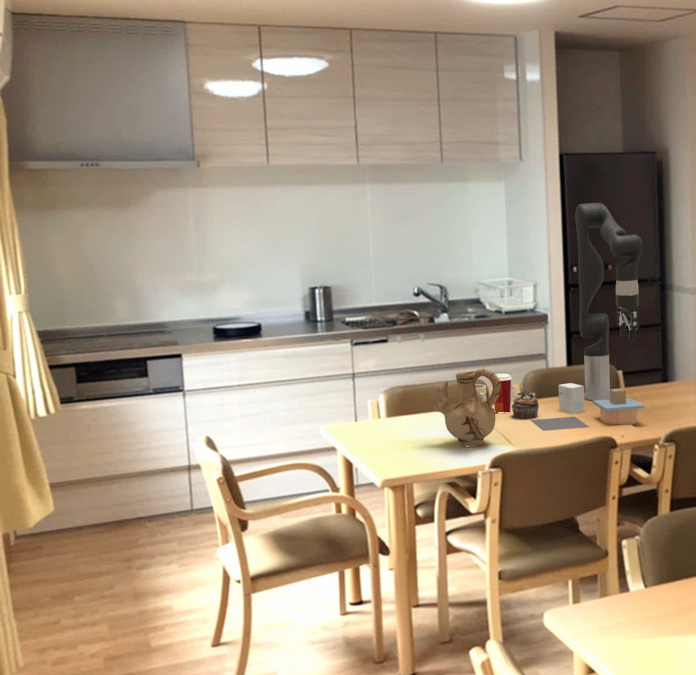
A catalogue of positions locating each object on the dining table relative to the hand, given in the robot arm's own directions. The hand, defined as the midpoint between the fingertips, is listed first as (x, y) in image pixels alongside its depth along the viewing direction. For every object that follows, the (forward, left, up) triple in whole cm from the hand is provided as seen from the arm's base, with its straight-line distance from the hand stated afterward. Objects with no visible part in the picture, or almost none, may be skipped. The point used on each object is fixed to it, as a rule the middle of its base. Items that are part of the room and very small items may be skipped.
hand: (628, 338), depth 300 cm
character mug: (-8, -53, -28) cm, 60 cm away
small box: (-9, -18, -28) cm, 34 cm away
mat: (+8, -28, -27) cm, 40 cm away
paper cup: (-20, -41, -28) cm, 53 cm away
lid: (+10, -8, -21) cm, 25 cm away
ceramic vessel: (+21, -62, -28) cm, 71 cm away
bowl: (+10, -8, -27) cm, 30 cm away
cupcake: (-6, -36, -28) cm, 46 cm away
